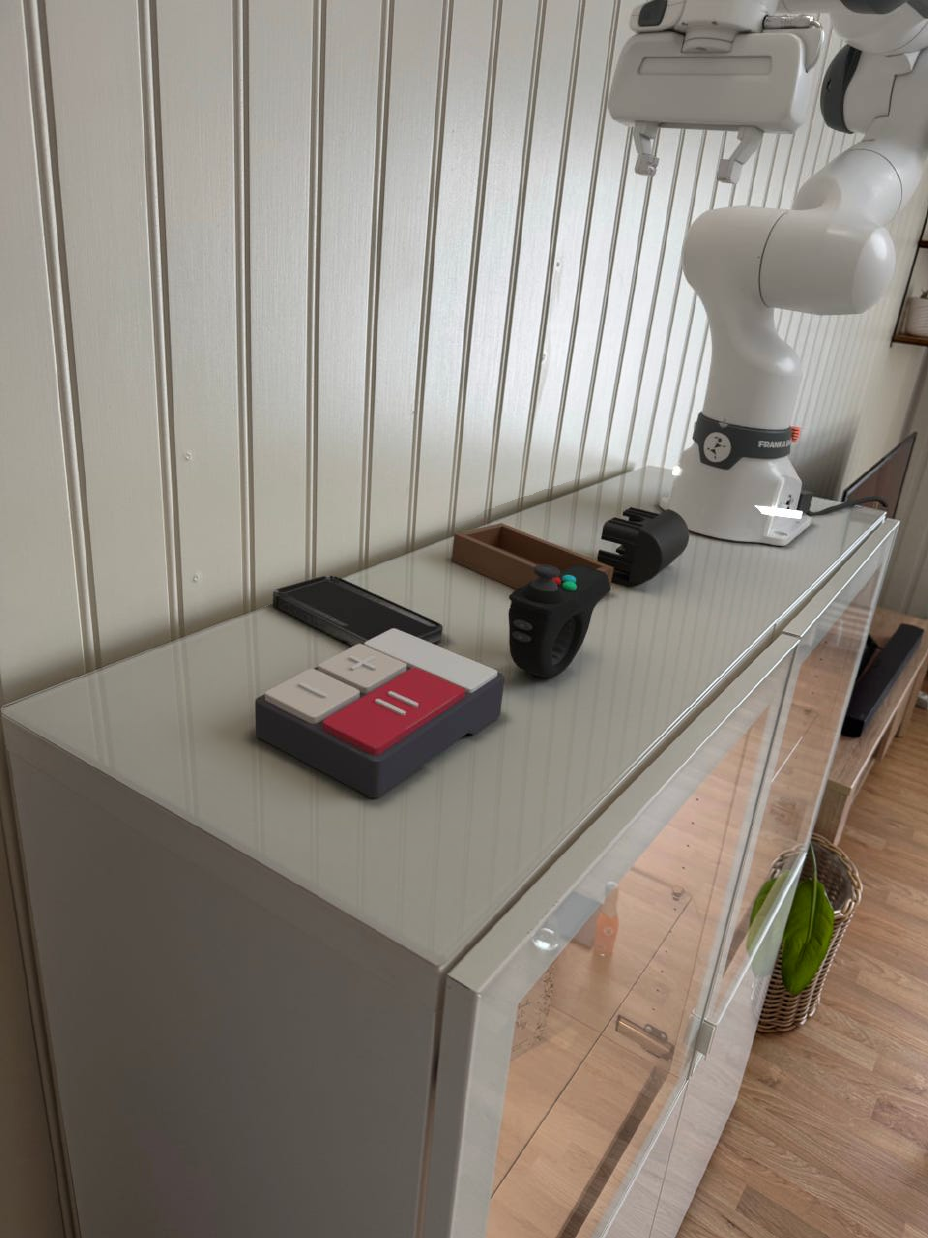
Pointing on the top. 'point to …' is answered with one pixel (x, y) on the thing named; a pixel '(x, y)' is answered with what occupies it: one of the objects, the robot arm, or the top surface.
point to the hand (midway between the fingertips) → (684, 178)
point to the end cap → (643, 544)
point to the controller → (553, 617)
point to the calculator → (379, 709)
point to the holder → (514, 554)
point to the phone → (351, 611)
